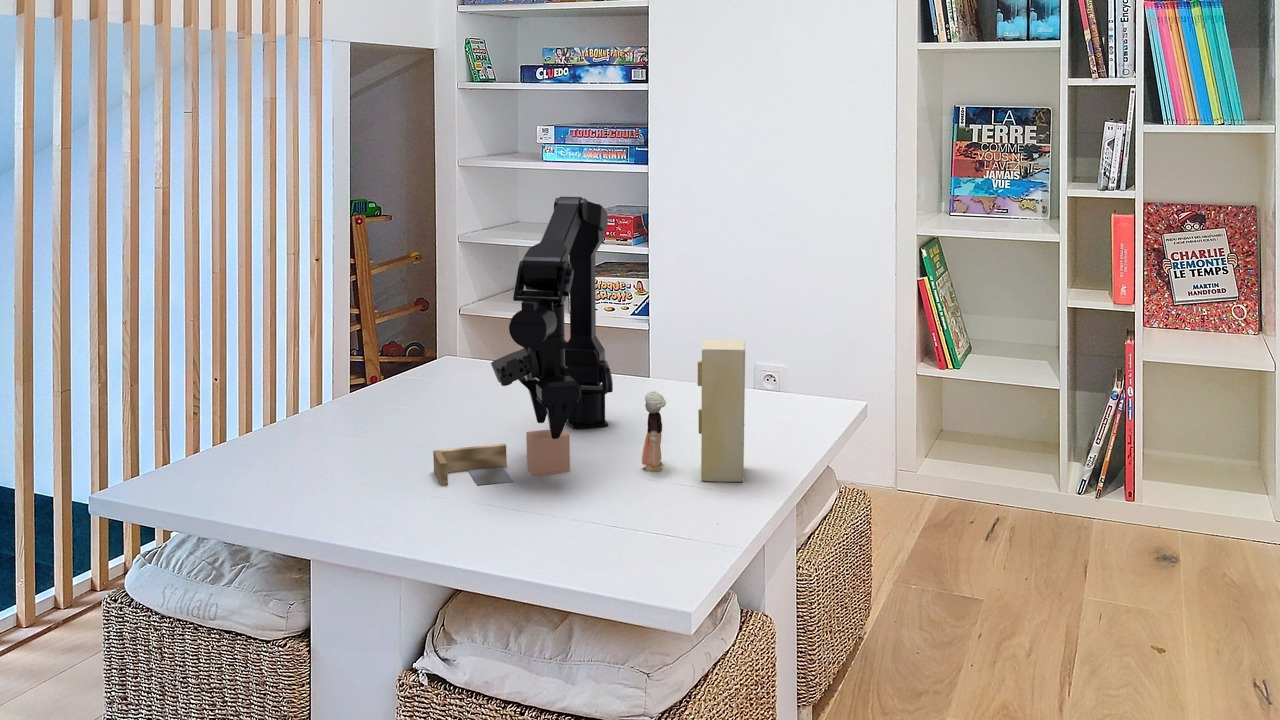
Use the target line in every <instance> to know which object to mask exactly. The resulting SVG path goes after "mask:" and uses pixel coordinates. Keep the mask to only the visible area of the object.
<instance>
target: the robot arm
mask: <svg viewBox="0 0 1280 720" xmlns="http://www.w3.org/2000/svg"><path fill="white" fill-rule="evenodd" d="M608 215H609V214H608V212H607V210H606V209H605V208H604V207H603V206H602V205H601V204H600V203H595V202H592V201H588V199H586V198H583V197H582V196H559V197H556V198H555V199H554V204H553V212H552V214H551V217H550V220H549V221H548V224H547V227H546V229H545V231H544V234H543V236H542V238H541V240H540V242H539V243H537V244H534V245H532V246H531V247H529V248H528V249H527V251H526V253H525V254H524V255H523V258H522V260H520V261H519V264H518V269H517V272H516V273H517V274H516V280H515V286H514V292H513V297H512V298H513V302H521V309H520V310H518V311H517V312H516V313H515V314H513V315H512V317H511V319H510V322H509V324H508V330H509V331H508V332H509V335H510V337H511V339H512V340H513V342H514V343H516V344H517V345H518V346H520V347H522V349H518V350H517V351H513V352H510V353H508V354H505V355H504V356H502V357H499V358H496V359H495V360H492V362H491V363H490V366H491V367H492V370H493V372H494V374H495V377H496V380H497V381H498V383H500V385H501V386H502V387H507V386H509V385H512V384H513V382H516V381H518V382H520V383H521V384H522V385H523V386H524V387H525V388H527V389H526V390H528V393H529V396H530V401H531V403H532V407H533V408H532V409H533V411H534V414H535V415H534V416H535V419H536V422H537V423H538V424H544V423H545V421H546V419H547V420H548V426H549V430H550V432H551V437H552V439H558V438H559V437H560V435H561V433H562V431H563V429H565V427H566V425H567V424H568V425H569V426H570V427H571V428H573V429H575V430H578V429H589V428H599V427H609V422H608V421H606V395H607V394H608V393H612V392H614V390H613V389H614V388H613V387H614V386H613V377H612V372H611V368H610V365H609V362H608V360H606V350H605V348H604V347H603V345H602V343H601V341H600V340H599V338H598V336H597V333H596V332H597V331H596V330H597V329H596V327H597V326H596V323H597V322H596V321H597V320H596V318H597V317H596V310H597V308H596V305H597V304H596V301H597V300H596V299H597V298H596V254H597V252H598V250H599V249H600V246H601V245H602V244H603V241H604V239H605V232H606V231H607V230H608V224H609V222H608V221H609V217H608ZM567 297H569V335H570V336H569V339H568V341H567V340H566V337H565V330H566V329H565V301H566V300H567ZM566 423H567V424H566Z"/></svg>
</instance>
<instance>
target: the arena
mask: <svg viewBox="0 0 1280 720" xmlns="http://www.w3.org/2000/svg"><path fill="white" fill-rule="evenodd" d="M432 456H433V472H434V474H435V476H436V478H437V480H438V482H439V483H440V486H448V485H449V484H448V483H449V481H448V480H449V479H448V473H454V472H464V471H468V473H469V475H470V476H471V478H472V479H473V481H474V482H475V484H476V486H478V487H479V486H486V485H487V486H489V485H496V484H505V483H506V484H507V483H513V482H514V480H513V479H512V477H511V475H509V473H508V472H507V470H506V469H505V468H504V467H507V465H508V464H507V463H508V462H507V459H508V458H507V457H508V456H507V444H505V443H498V444H497V443H496V444H488V445H487V444H486V445H475V446H467V447H466V446H465V447H457V448H447V449H444V448H443V449H435V450H433V451H432Z"/></svg>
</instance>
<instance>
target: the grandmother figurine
mask: <svg viewBox="0 0 1280 720" xmlns="http://www.w3.org/2000/svg"><path fill="white" fill-rule="evenodd" d="M644 397H645V398H644V401H645V404H644V407H645V410H646V411H647V413H648V416H647V430H646V431H647V432H646V435H645V439H644V443H643V449H642V454H641V455H642V456H641V465H642V466H643V465H644V466H645V468H644V471H645V472H649V473H650V472H653V473H654V472H661V471H663V462H662V461H661V460H662V449H661V447H662V446H661V444H662V433H663V432H662V431H663V421H662V415H661V413H660V411H661V409H662V408H664V407H666V404H667V402H666V400H665V398H664V396H663V395H662V394H661V393H659V392H658V391H656V390H650V391H649V392H647V393H646V394H645V395H644Z"/></svg>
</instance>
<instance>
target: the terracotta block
mask: <svg viewBox="0 0 1280 720" xmlns="http://www.w3.org/2000/svg"><path fill="white" fill-rule="evenodd" d="M570 445H571V444H570V434H569V433H568V432H567V431H566V430H565V428H563V431H562V433H561V435H560V437H559V438H558V439H552V437H551V432H550V429H544V430H543V429H542V430H533V431H532V430H531V431H526V468H527V470H528V471H529V472H530V474H531V475H533V476H537V475H547V474H555V473H566V472H570V471H571V458H570V457H571V454H570V453H571V450H570Z"/></svg>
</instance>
